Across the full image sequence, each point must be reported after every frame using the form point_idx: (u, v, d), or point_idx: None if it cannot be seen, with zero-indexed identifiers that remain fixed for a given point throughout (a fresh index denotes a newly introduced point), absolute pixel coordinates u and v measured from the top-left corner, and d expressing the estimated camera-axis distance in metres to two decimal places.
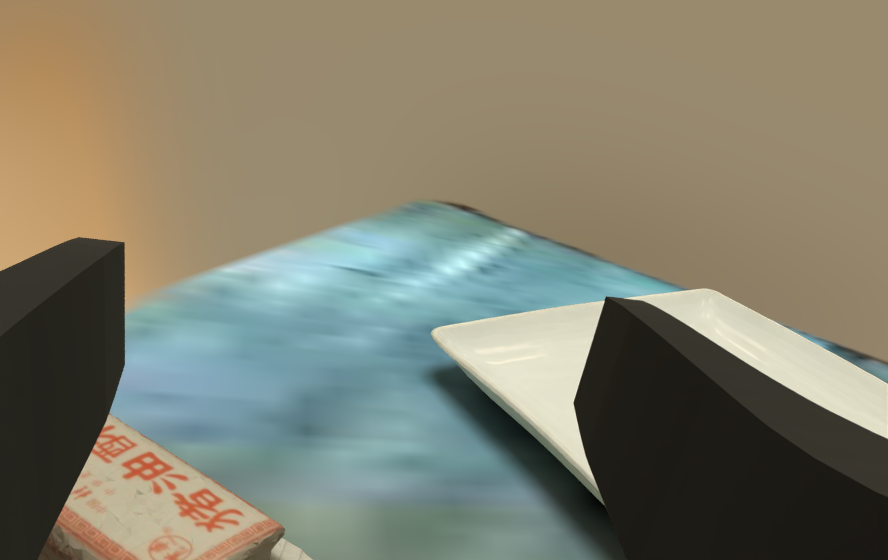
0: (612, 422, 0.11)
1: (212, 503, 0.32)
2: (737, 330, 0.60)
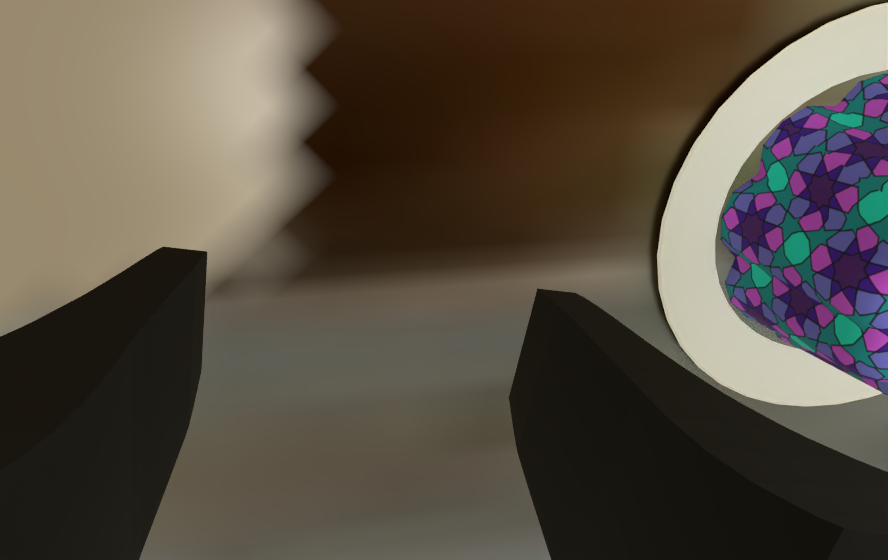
0: (539, 416, 0.11)
1: None
2: None
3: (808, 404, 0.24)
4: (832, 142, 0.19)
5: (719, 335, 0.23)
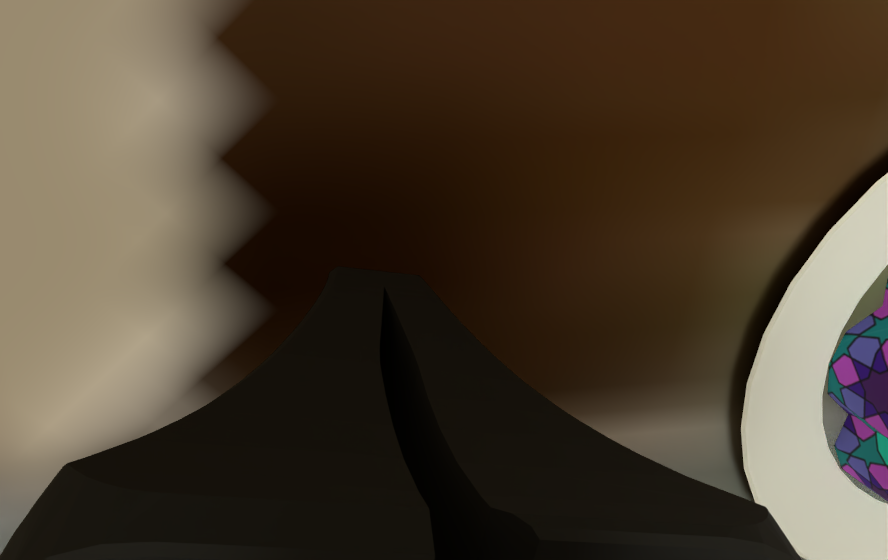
0: None
1: None
2: None
3: None
4: None
5: (827, 511, 0.16)
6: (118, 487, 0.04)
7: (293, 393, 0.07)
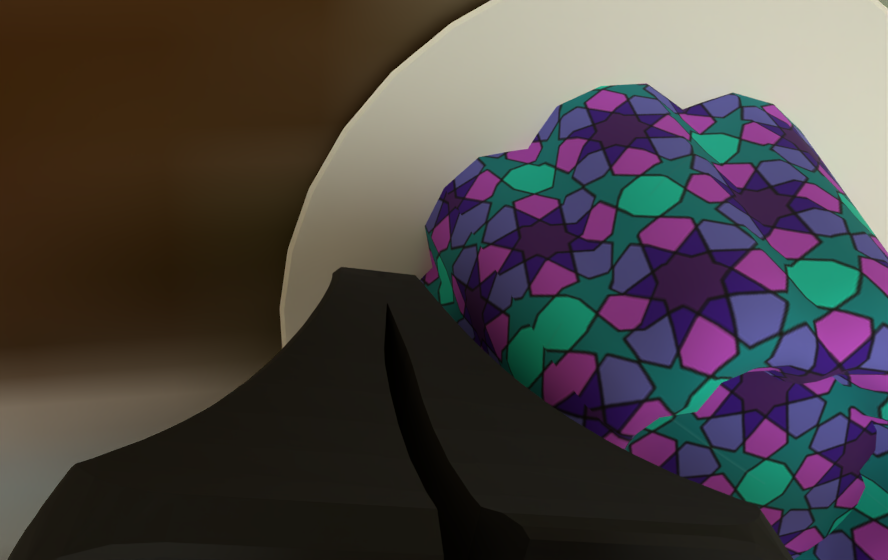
0: None
1: None
2: None
3: None
4: (493, 226, 0.11)
5: None
6: (128, 488, 0.04)
7: (299, 393, 0.07)
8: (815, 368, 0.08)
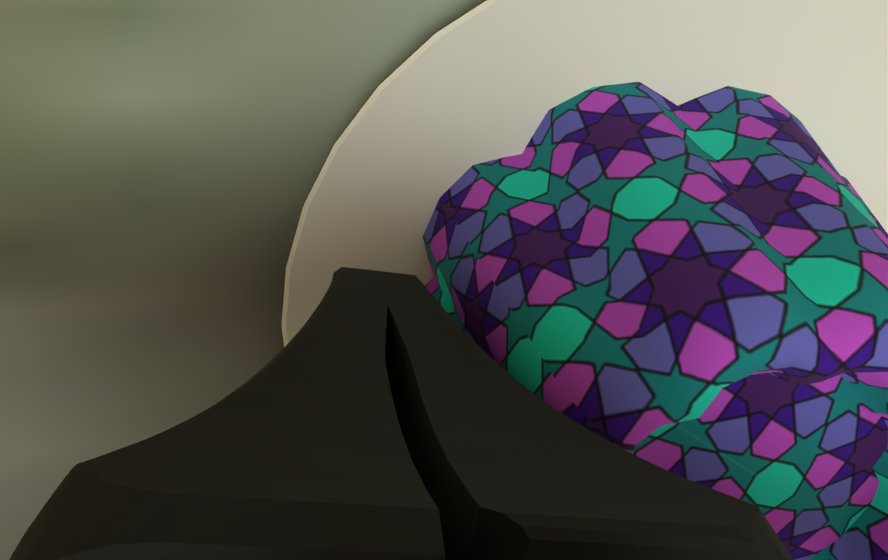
0: None
1: None
2: None
3: None
4: (489, 235, 0.11)
5: None
6: (131, 487, 0.04)
7: (300, 393, 0.07)
8: (817, 368, 0.08)
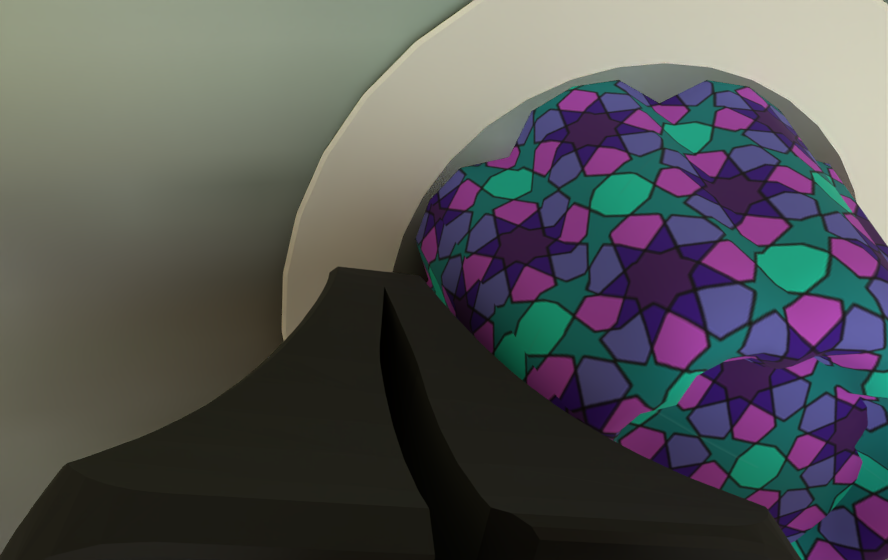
0: None
1: None
2: None
3: None
4: (475, 235, 0.11)
5: None
6: (119, 485, 0.04)
7: (293, 393, 0.07)
8: (788, 353, 0.08)
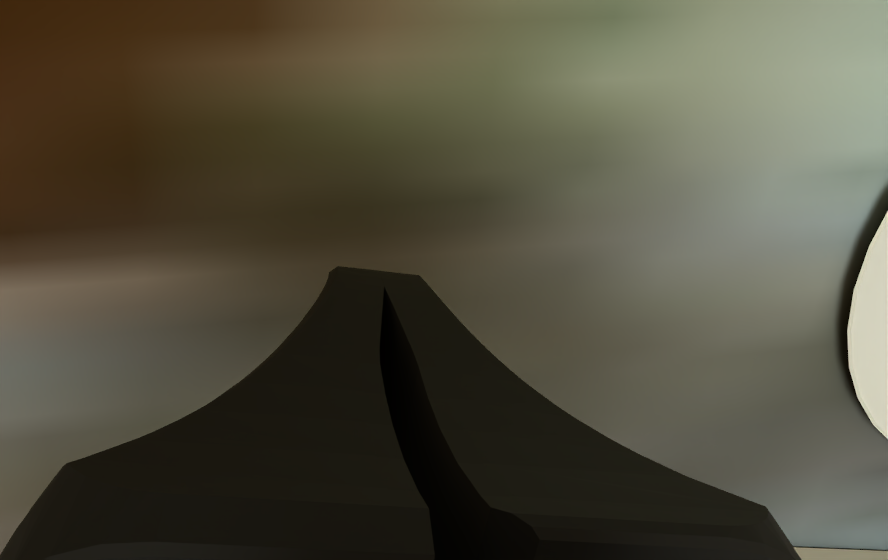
0: None
1: None
2: None
3: None
4: None
5: None
6: (118, 485, 0.04)
7: (294, 393, 0.07)
8: None
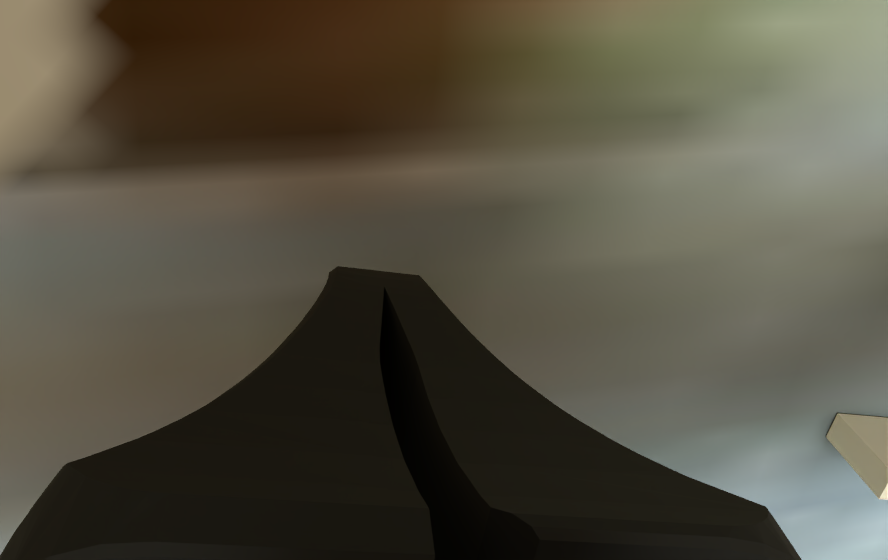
0: None
1: None
2: None
3: None
4: None
5: None
6: (119, 487, 0.04)
7: (294, 393, 0.07)
8: None
